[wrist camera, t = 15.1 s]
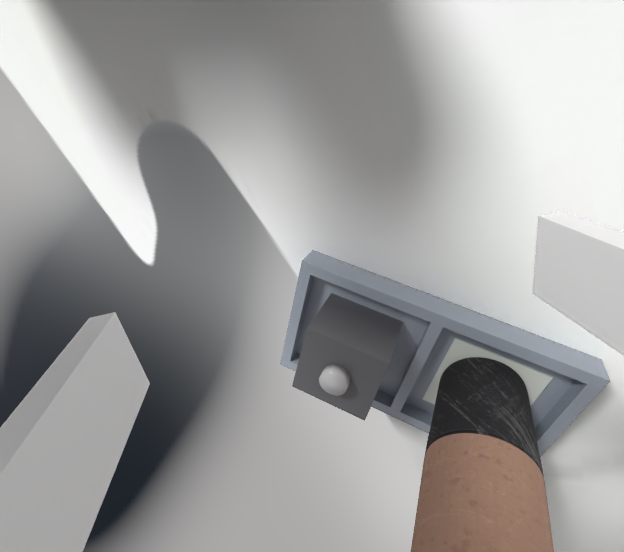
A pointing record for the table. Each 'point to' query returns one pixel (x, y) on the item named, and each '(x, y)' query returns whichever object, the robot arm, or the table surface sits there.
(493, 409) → the travel mug
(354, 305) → the seated block
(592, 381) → the dock
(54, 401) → the robot arm
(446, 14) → the table surface
